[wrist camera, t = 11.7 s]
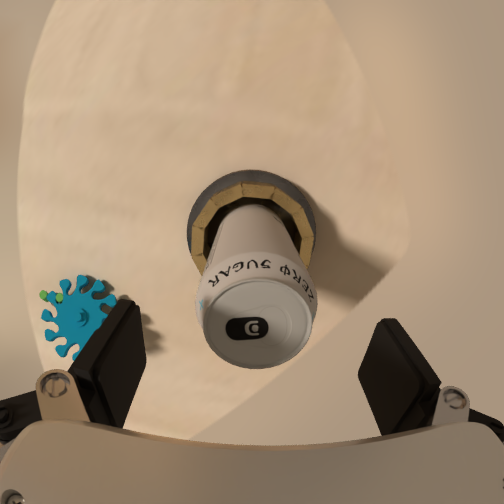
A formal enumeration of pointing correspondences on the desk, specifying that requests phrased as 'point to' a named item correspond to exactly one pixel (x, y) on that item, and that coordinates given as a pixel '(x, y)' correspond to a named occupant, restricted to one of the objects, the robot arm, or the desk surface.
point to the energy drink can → (255, 291)
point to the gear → (75, 313)
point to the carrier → (249, 192)
